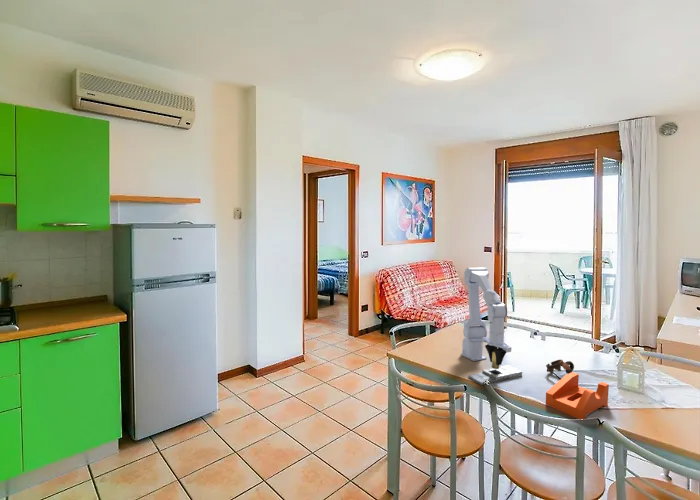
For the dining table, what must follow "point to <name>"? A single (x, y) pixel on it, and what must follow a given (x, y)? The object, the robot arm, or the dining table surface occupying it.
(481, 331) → the robot arm
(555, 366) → the brown jointed arch
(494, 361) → the brass pin
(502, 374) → the white grey flat block
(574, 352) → the dining table surface
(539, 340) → the dining table surface
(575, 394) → the orange notched block
